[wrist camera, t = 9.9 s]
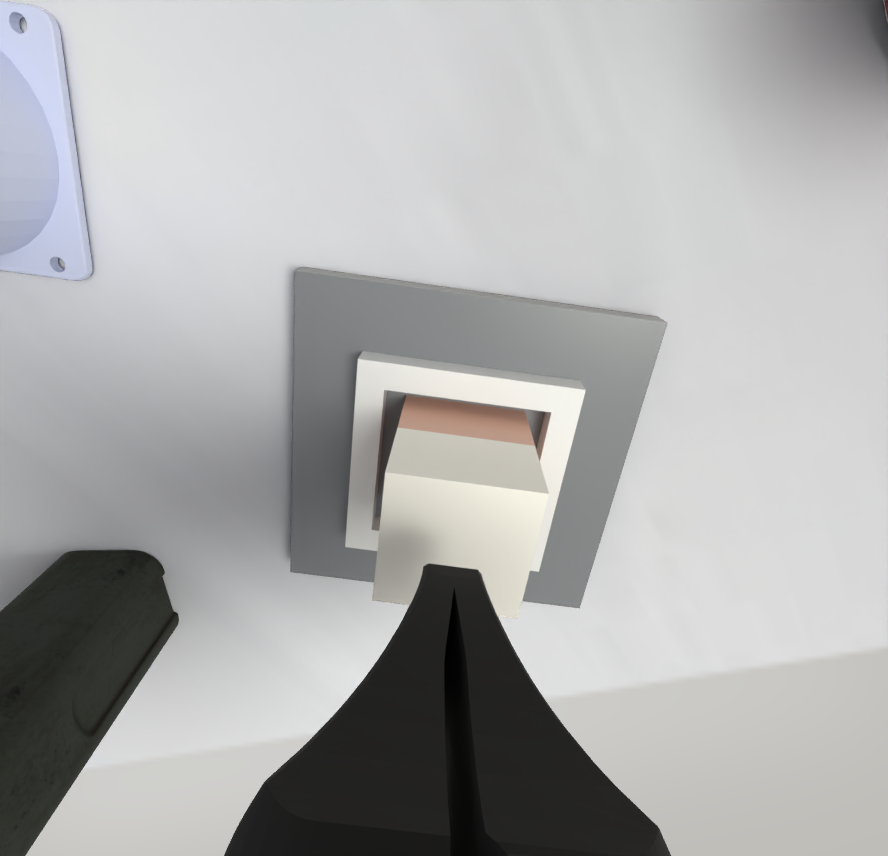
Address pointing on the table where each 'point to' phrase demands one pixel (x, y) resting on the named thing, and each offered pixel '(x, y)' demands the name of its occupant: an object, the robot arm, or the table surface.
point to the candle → (70, 675)
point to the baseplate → (461, 380)
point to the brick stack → (460, 500)
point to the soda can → (886, 8)
